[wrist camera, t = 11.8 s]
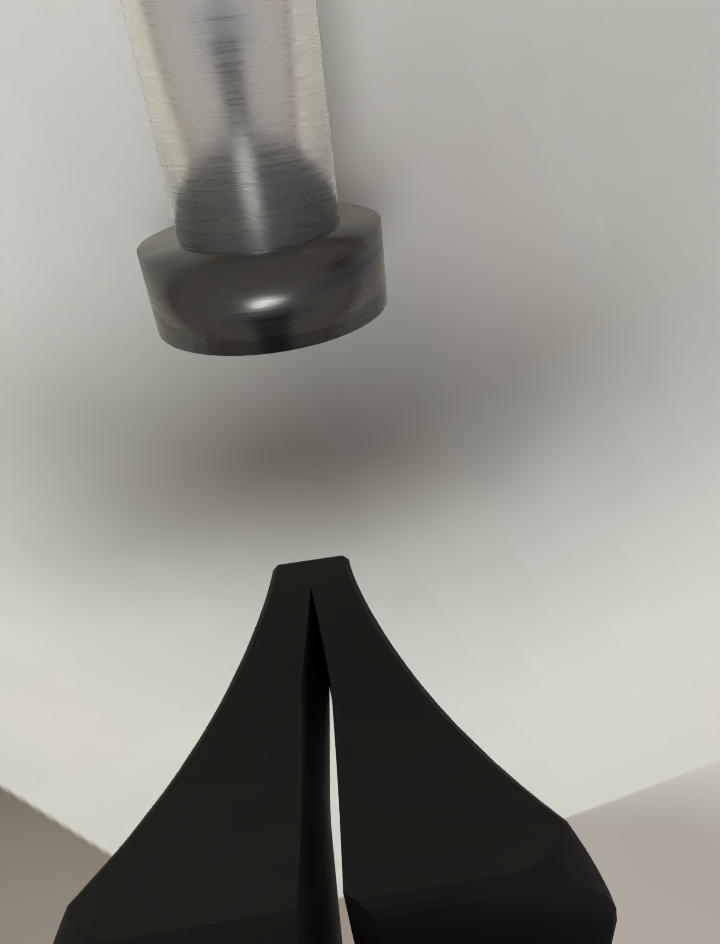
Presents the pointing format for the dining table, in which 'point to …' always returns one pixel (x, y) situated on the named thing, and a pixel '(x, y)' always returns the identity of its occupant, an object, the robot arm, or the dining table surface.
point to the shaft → (248, 181)
